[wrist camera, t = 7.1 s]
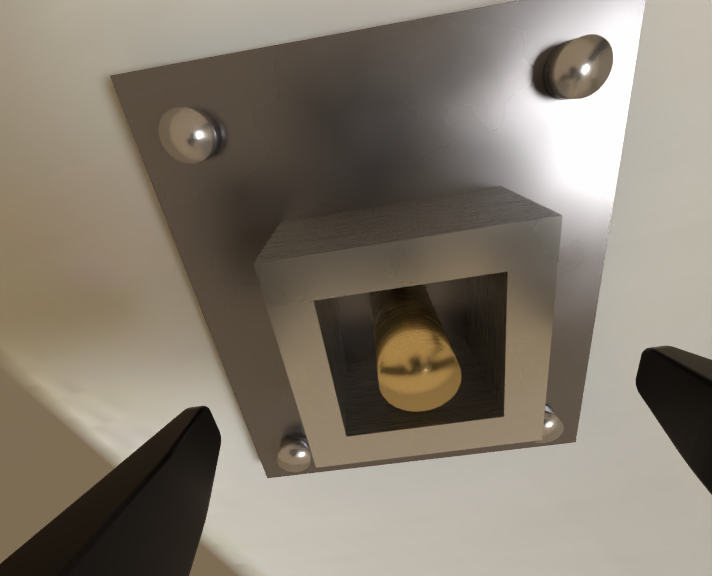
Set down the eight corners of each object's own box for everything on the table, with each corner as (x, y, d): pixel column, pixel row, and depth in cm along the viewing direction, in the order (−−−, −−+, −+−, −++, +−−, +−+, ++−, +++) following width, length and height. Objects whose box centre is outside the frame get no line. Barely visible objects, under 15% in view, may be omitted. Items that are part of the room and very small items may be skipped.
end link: (501, 186, 9) (562, 215, 7) (499, 367, 12) (542, 440, 9) (280, 222, 10) (253, 263, 7) (323, 390, 12) (316, 467, 10)
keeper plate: (623, -12, 8) (859, -121, 4) (564, 425, 14) (642, 540, 11) (129, 79, 9) (-39, 52, 5) (271, 460, 15) (244, 580, 11)
